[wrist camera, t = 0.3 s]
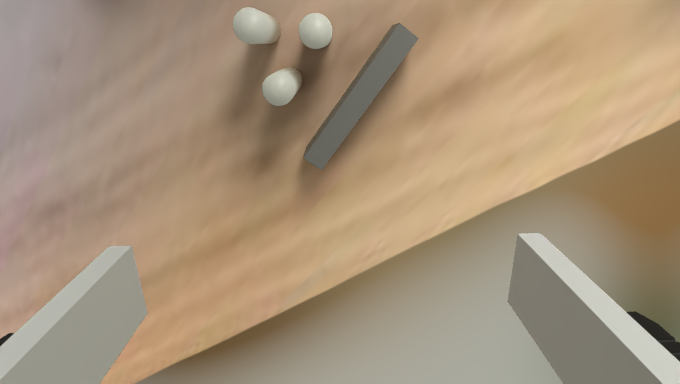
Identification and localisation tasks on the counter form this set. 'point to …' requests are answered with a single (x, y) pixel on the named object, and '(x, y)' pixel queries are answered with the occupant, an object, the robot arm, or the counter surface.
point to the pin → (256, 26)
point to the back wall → (360, 94)
